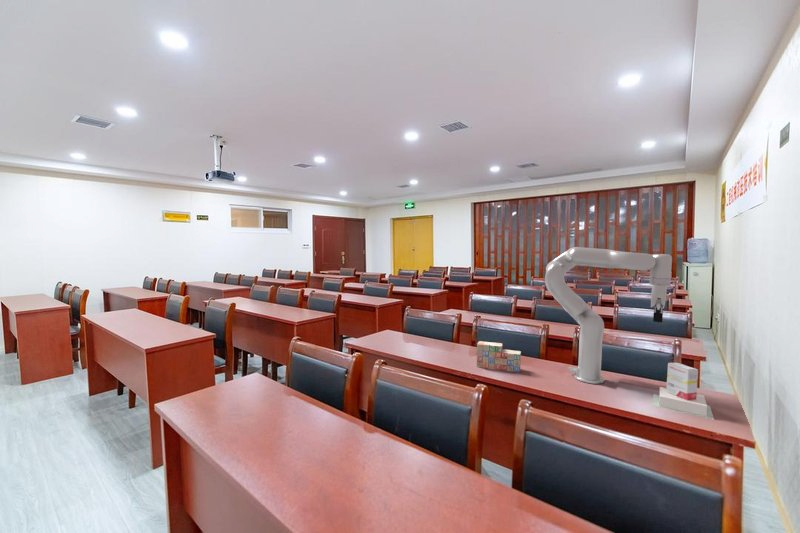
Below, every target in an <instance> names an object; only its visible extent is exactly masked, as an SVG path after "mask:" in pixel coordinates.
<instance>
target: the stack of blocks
mask: <svg viewBox="0 0 800 533" xmlns="http://www.w3.org/2000/svg"><path fill="white" fill-rule="evenodd" d="M503 348H504V346H503V343H501V342H491V341H490V342H489V341H481V340H480V341H478V342H477V343H476V367H477V368H481V369H489V370H497V371H505V372H512V373H520V372H521V357H522V356H521V355H522V351H520V350H511V349H503ZM520 374H521V373H520Z"/></svg>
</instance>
